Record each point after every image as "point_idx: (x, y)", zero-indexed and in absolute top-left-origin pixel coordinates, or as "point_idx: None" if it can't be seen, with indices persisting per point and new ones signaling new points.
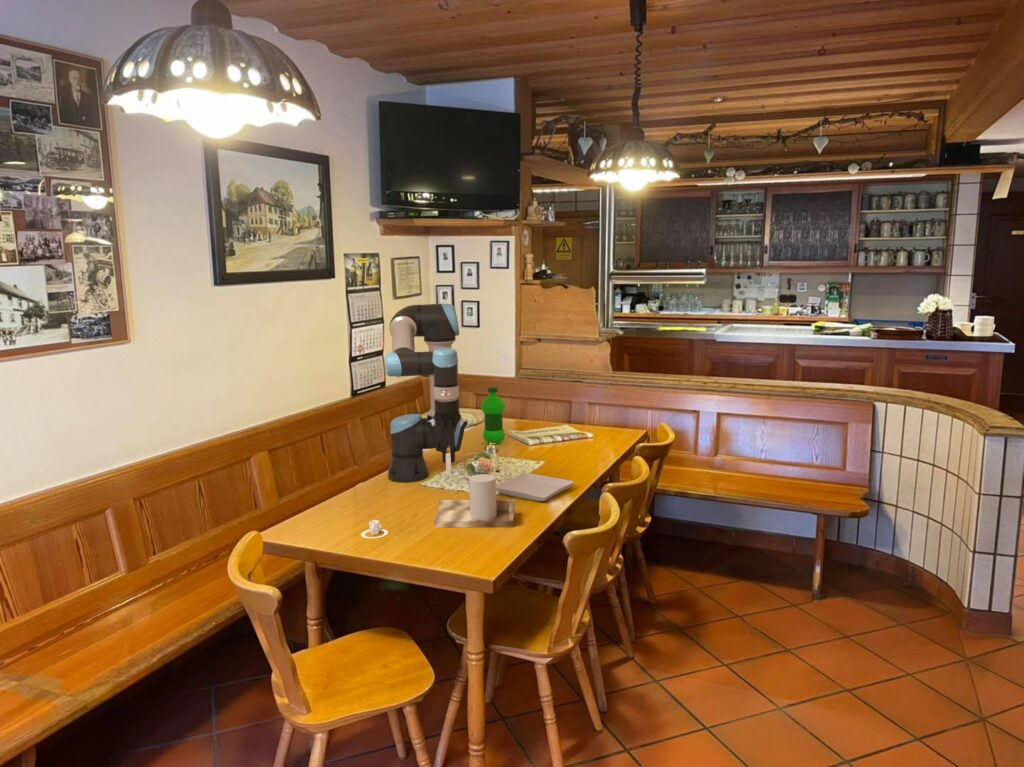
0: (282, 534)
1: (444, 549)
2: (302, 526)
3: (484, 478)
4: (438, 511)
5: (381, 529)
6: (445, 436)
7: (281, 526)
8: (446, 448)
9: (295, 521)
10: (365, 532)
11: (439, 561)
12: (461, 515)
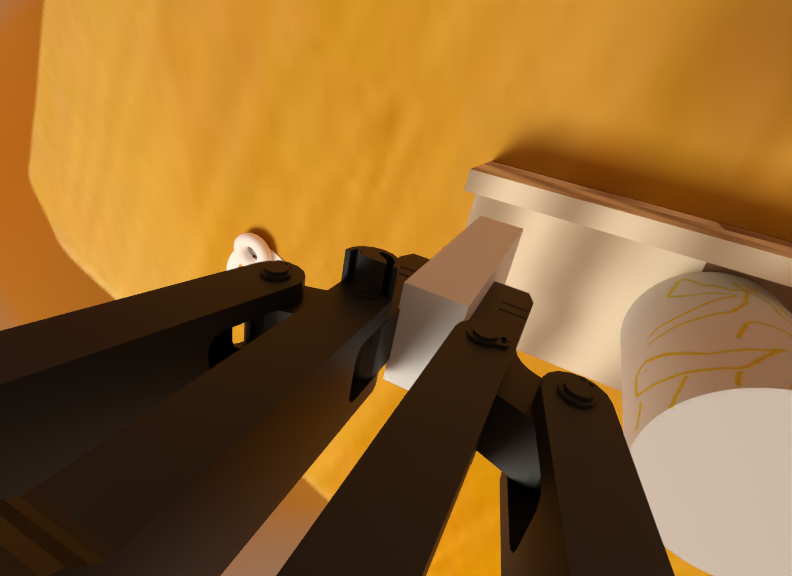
0: (59, 201)
1: (458, 500)
2: (75, 148)
3: (779, 515)
4: (475, 198)
5: (275, 259)
6: (222, 549)
7: (32, 131)
8: (378, 327)
9: (44, 92)
10: (235, 266)
11: (434, 558)
12: (578, 296)
